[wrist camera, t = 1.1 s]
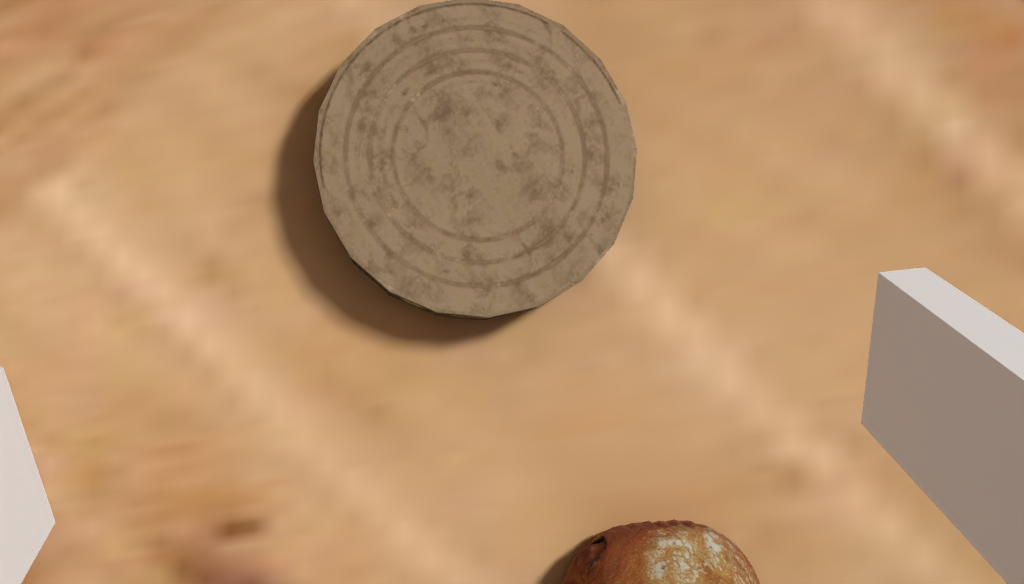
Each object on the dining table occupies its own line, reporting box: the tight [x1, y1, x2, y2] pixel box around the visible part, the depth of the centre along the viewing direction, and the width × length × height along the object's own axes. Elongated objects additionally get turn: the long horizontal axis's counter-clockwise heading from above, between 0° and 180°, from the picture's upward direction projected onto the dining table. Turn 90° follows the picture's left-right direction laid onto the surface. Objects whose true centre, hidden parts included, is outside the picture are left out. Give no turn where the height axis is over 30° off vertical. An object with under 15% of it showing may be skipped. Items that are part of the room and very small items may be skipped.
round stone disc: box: [313, 0, 637, 320], centre depth 44 cm, size 16×16×3 cm
